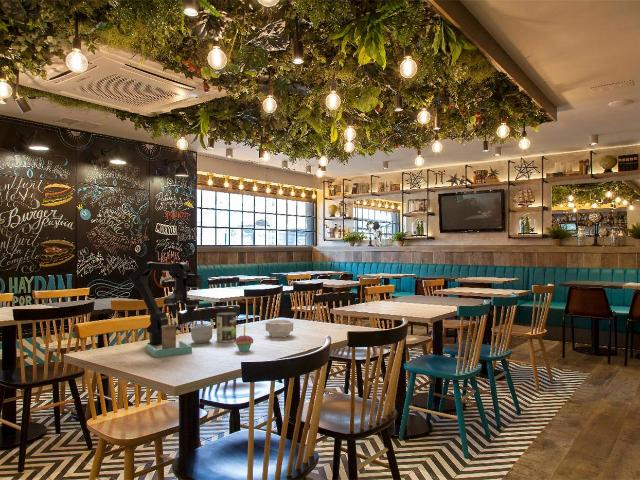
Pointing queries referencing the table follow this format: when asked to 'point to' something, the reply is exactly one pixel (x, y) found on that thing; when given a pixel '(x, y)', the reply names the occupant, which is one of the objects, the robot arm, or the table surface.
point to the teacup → (201, 333)
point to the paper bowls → (279, 327)
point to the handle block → (168, 336)
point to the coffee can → (226, 326)
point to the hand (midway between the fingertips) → (181, 318)
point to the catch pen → (170, 350)
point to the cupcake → (244, 342)
